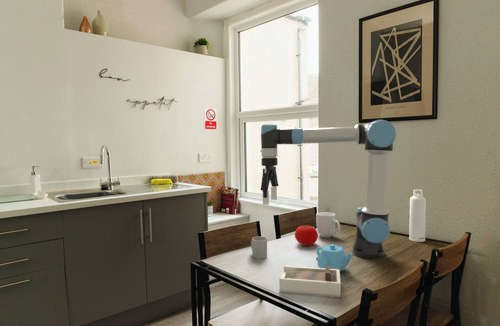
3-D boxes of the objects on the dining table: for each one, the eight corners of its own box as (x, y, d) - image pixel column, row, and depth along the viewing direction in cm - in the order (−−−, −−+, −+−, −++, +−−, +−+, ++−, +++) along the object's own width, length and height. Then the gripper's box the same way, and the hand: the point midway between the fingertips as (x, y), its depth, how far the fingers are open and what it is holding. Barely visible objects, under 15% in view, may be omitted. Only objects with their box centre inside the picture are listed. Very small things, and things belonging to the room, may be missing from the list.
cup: (258, 260, 165) (258, 241, 164) (245, 254, 173) (245, 237, 172) (270, 256, 169) (270, 238, 169) (257, 251, 177) (257, 234, 177)
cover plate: (332, 274, 137) (332, 264, 137) (333, 285, 127) (333, 275, 126) (297, 272, 140) (297, 262, 140) (294, 282, 130) (294, 272, 129)
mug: (344, 237, 202) (345, 214, 201) (334, 241, 194) (334, 217, 193) (323, 232, 212) (323, 211, 211) (312, 236, 205) (312, 214, 204)
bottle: (425, 238, 196) (427, 189, 194) (424, 242, 189) (425, 191, 187) (410, 236, 200) (411, 188, 198) (408, 240, 194) (409, 190, 192)
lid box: (339, 282, 138) (339, 269, 138) (340, 297, 125) (340, 283, 124) (284, 277, 143) (284, 265, 143) (279, 292, 130) (279, 278, 129)
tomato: (321, 244, 187) (321, 225, 187) (305, 249, 180) (305, 229, 180) (307, 240, 197) (307, 221, 196) (290, 243, 190) (290, 224, 189)
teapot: (354, 276, 143) (354, 249, 143) (321, 277, 143) (321, 250, 142) (343, 263, 159) (343, 239, 158) (313, 264, 158) (313, 240, 157)
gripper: (269, 156, 177) (269, 197, 178) (253, 158, 153) (254, 206, 155) (283, 155, 174) (284, 198, 176) (269, 158, 151) (270, 207, 152)
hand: (270, 202), depth 165 cm, fingers open, 13 cm apart
